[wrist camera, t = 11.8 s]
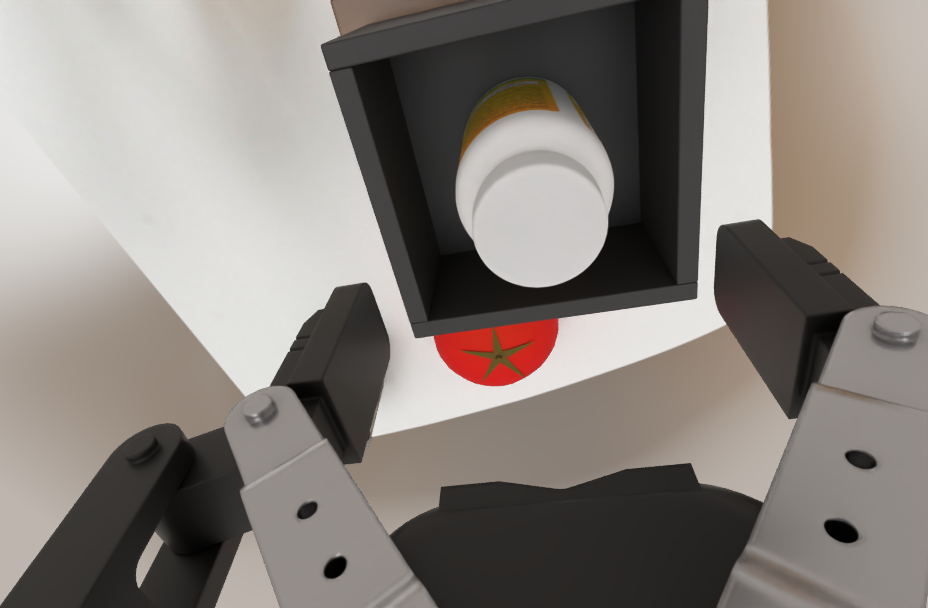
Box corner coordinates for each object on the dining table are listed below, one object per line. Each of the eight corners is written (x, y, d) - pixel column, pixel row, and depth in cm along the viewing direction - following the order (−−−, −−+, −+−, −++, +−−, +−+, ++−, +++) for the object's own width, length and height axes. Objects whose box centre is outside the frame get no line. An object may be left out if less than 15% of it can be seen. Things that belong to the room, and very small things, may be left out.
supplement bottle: (444, 165, 24) (418, 266, 16) (498, 50, 21) (500, 101, 13) (545, 214, 25) (569, 332, 17) (608, 110, 22) (674, 192, 14)
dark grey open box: (365, 24, 22) (319, 45, 16) (649, -44, 20) (711, -49, 14) (431, 263, 28) (414, 339, 22) (653, 227, 26) (697, 299, 20)
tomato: (465, 360, 67) (461, 418, 59) (418, 283, 61) (406, 335, 53) (570, 324, 63) (581, 381, 55) (531, 238, 57) (537, 287, 49)
